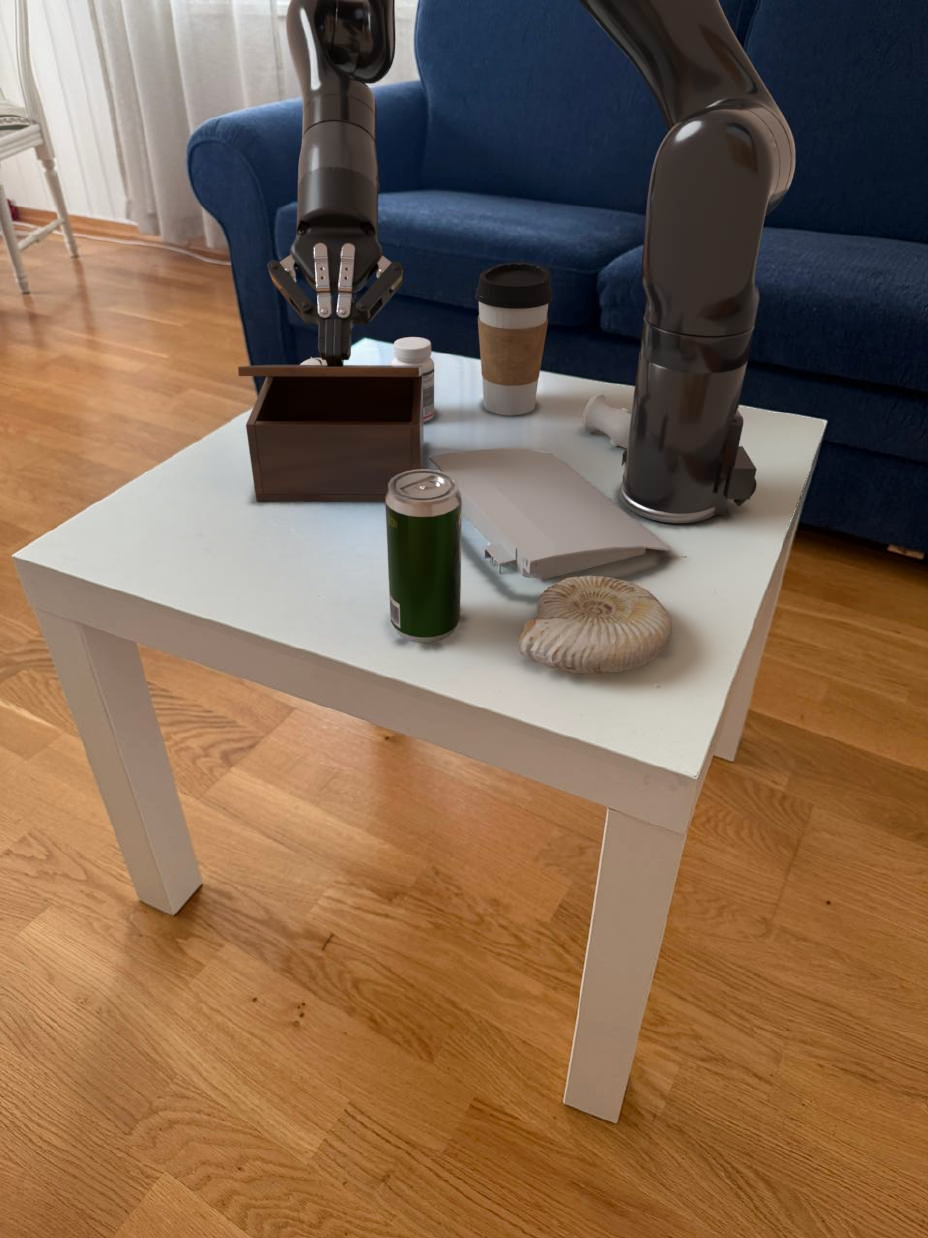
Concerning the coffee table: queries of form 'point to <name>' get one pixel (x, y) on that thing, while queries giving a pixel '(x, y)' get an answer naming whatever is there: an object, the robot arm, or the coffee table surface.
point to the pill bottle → (418, 354)
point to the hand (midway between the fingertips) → (334, 362)
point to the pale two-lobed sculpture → (607, 420)
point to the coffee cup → (512, 334)
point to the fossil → (596, 626)
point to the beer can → (424, 554)
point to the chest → (334, 437)
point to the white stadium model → (541, 513)
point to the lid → (332, 370)
